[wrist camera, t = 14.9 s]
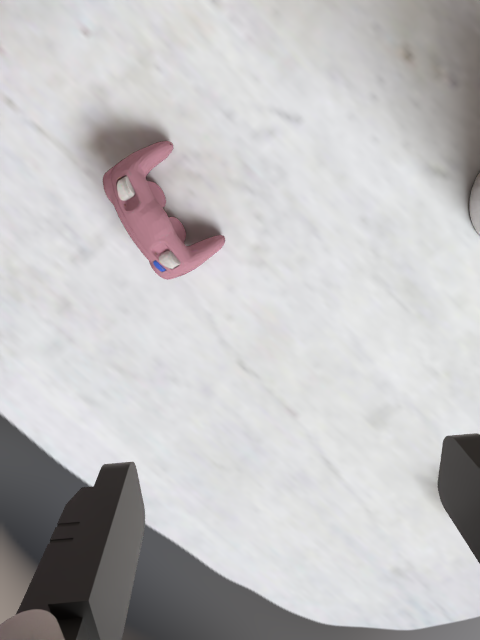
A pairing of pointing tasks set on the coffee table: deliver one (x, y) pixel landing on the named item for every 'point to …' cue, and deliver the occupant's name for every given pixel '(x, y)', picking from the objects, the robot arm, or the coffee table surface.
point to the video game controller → (154, 215)
